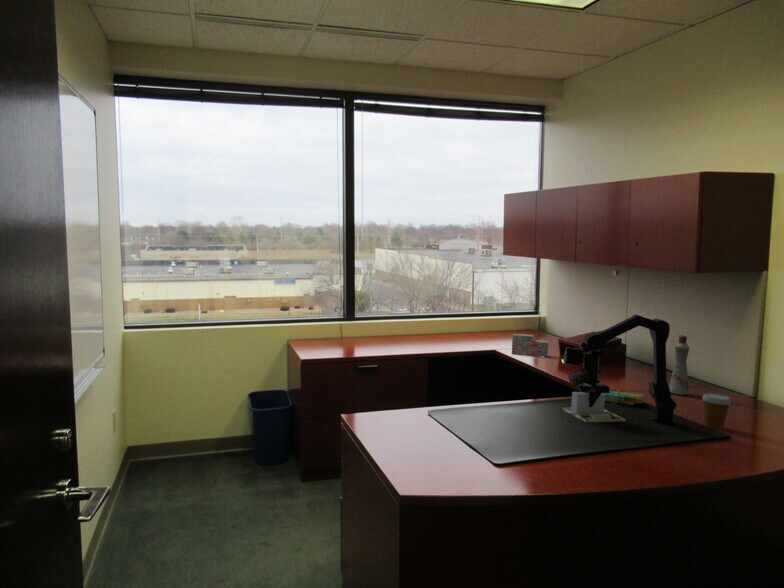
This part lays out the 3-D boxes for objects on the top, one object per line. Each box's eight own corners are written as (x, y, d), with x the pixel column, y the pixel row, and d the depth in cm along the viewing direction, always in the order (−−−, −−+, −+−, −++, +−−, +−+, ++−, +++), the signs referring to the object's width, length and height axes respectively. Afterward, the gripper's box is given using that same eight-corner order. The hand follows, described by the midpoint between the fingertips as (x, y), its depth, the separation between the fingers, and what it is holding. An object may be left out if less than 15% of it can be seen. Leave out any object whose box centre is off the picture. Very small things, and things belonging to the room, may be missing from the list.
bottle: (662, 391, 277) (668, 333, 275) (677, 390, 280) (682, 333, 278) (677, 396, 269) (683, 336, 267) (692, 395, 272) (698, 336, 270)
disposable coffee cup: (713, 431, 217) (716, 399, 216) (693, 423, 226) (696, 393, 225) (733, 430, 219) (737, 399, 218) (713, 422, 228) (716, 392, 227)
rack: (625, 424, 220) (626, 419, 219) (585, 425, 215) (585, 420, 215) (599, 411, 236) (599, 406, 236) (561, 412, 232) (561, 407, 232)
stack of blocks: (547, 356, 357) (548, 336, 356) (547, 358, 351) (548, 337, 350) (511, 352, 362) (513, 333, 361) (511, 354, 356) (512, 334, 355)
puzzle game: (595, 385, 263) (643, 392, 255) (594, 395, 264) (642, 402, 256) (593, 390, 253) (643, 397, 245) (592, 401, 253) (642, 408, 245)
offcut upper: (610, 419, 220) (611, 416, 220) (593, 419, 219) (593, 415, 219) (606, 417, 223) (607, 413, 223) (589, 417, 222) (589, 413, 222)
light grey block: (603, 416, 229) (605, 394, 228) (576, 417, 226) (577, 394, 225) (597, 413, 233) (599, 391, 232) (570, 414, 230) (572, 392, 229)
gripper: (560, 361, 235) (557, 399, 236) (585, 371, 217) (582, 412, 218) (584, 361, 238) (581, 398, 239) (612, 371, 220) (608, 412, 221)
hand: (587, 405), depth 229 cm, fingers closed on light grey block, 4 cm apart
